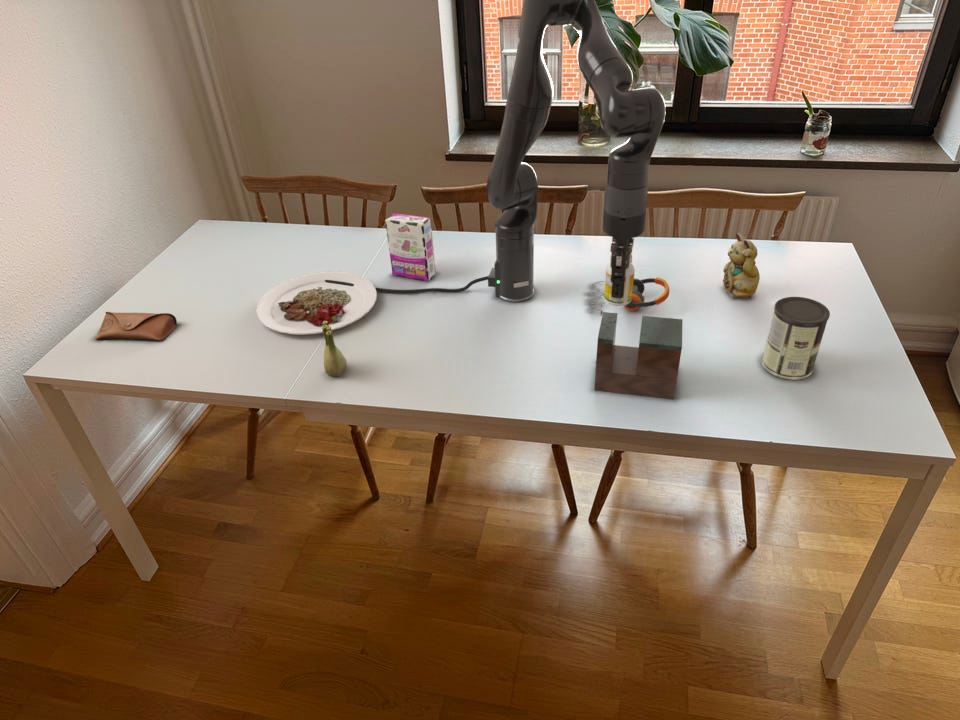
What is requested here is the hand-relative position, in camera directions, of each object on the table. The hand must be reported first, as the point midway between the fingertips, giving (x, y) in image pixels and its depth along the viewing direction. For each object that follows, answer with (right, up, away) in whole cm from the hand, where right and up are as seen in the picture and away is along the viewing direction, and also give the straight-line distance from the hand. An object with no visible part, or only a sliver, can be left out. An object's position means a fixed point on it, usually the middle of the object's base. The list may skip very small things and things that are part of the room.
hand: (618, 288), depth 132 cm
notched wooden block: (+6, -18, +12) cm, 22 cm away
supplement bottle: (0, -2, +2) cm, 3 cm away
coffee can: (+39, -15, +14) cm, 44 cm away
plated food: (-68, 0, +42) cm, 80 cm away
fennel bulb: (-58, -17, +19) cm, 64 cm away
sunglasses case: (-111, -7, +36) cm, 117 cm away
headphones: (+9, 0, +37) cm, 38 cm away
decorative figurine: (+38, +3, +39) cm, 55 cm away
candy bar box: (-45, +9, +54) cm, 70 cm away
